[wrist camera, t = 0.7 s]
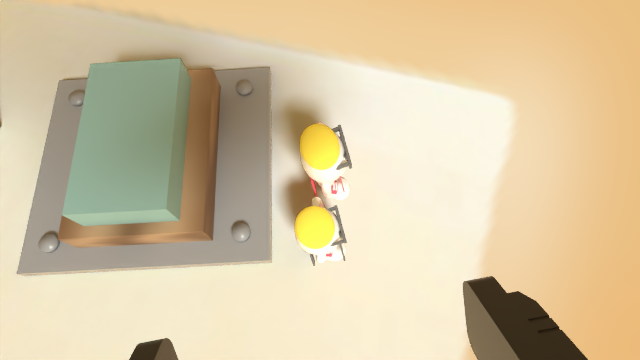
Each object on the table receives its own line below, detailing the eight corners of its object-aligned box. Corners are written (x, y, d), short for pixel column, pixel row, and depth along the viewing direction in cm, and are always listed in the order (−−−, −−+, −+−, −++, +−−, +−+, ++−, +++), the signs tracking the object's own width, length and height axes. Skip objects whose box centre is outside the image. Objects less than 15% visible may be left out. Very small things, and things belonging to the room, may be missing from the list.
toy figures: (347, 272, 38) (350, 250, 30) (297, 269, 38) (286, 247, 30) (351, 147, 42) (354, 100, 34) (306, 146, 42) (298, 99, 35)
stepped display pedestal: (24, 275, 38) (-39, 259, 32) (64, 86, 46) (20, 41, 40) (271, 262, 38) (257, 243, 32) (271, 73, 46) (259, 26, 39)
